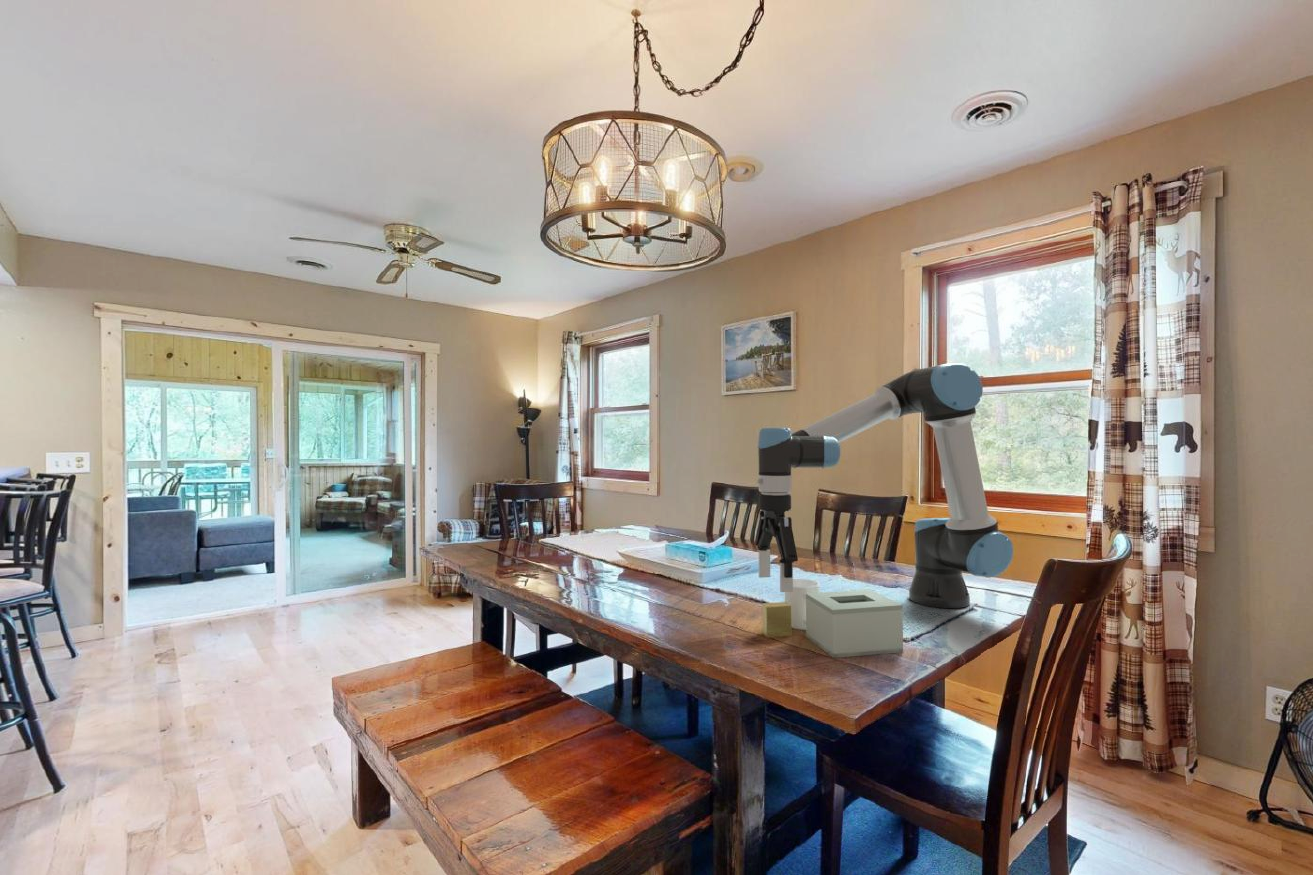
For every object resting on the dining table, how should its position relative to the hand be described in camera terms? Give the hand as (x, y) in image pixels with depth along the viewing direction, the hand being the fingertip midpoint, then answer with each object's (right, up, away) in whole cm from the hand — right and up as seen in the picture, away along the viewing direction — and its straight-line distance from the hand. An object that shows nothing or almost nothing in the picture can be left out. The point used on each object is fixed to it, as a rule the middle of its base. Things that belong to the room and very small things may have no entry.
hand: (774, 584), depth 132 cm
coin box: (+16, -12, -7) cm, 21 cm away
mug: (+8, -12, +5) cm, 15 cm away
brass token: (0, -12, 0) cm, 12 cm away
